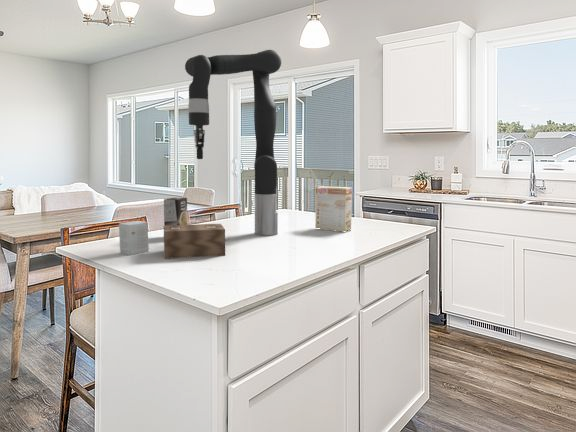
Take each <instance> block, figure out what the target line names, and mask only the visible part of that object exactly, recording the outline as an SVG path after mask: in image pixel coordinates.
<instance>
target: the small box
mask: <svg viewBox="0 0 576 432" xmlns="http://www.w3.org/2000/svg"><path fill="white" fill-rule="evenodd" d="M148 225H149V224H148V222H147V221H143V220H142V221H141V220H134V221H133V220H132V221H126V222H119V223H118V234H119V235H118V236H119V253H120V254H123V255H126V256H134V255H137V254H138V255H139V254H142V253H146V252H149V249H150V247H149V229H148V227H149V226H148ZM133 254H134V255H133Z"/></svg>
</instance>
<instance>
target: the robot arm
mask: <svg viewBox="0 0 576 432" xmlns="http://www.w3.org/2000/svg"><path fill="white" fill-rule="evenodd" d="M281 67H282V57H281V55H280V54H279V53H278V52H277V51H276V50H274V49H265V50H263V51H262V50H261V51H259V52H256V53H250V54H249V53H248V54H219V55H212V56H206V55H204V54H199V55H196V56H192V57H190V58H187V60H186V62H185V64H184V70H185V72H186V73H187V74H188V76H191V77H192V81H191V83H190V84H189V85H188V104H187V105H188V106H187V107H188V108H187V109H188V124H189V125H190V126H194V127H195V129H194V130H193V137H194V143H195V145H194V146H195V149H196V159H197V160H203V158H204V152H203V149H204V147H205V135H206V130H205V129H204V126H209V125H210V104H209V85H210V81H211V80H210V79H211V76H213V75H214V76H215V75H216V76H219V75H223V76H224V75H232V74H233V75H234V74H240V73H244V72H252V79H253V96H254V99H253V101H254V102H253V103H254V105H253V107H254V108H253V109H254V110H253V123H254V135H255V145H256V146H255V157H254V158H255V159H254V164H253V166H254V167H253V168H254V234H255V235H256V236H273V235H278V232H279V230H278V229H279V228H278V223H279V222H278V221H279V220H278V219H279V218H278V217H279V216H278V215H279V214H278V211H277V189H278V187H277V186H278V164H277V161H276V160H275V155H274V154H275V150H274V149H275V148H274V141H275V135H276V129H277V105H276V102H275V100H274V97H273V95H272V93H271V90H270V89H271V88H270V75H272V74H274V73H276V72H277V71H279V69H280V68H281Z"/></svg>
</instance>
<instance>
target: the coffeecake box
mask: <svg viewBox="0 0 576 432" xmlns="http://www.w3.org/2000/svg"><path fill="white" fill-rule="evenodd" d="M352 206H353V187H351V186H349V187H348V186H329V185H328V186H327V185H320V186H316V187H315V228H320V229H327V230H326V231H328V230H336V231H335V232H337V231H347V230H350V229H351V230H352V208H353V207H352ZM315 228H314V229H315ZM347 232H348V231H347Z"/></svg>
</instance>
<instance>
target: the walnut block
mask: <svg viewBox="0 0 576 432" xmlns="http://www.w3.org/2000/svg"><path fill="white" fill-rule="evenodd" d="M208 226H215V228H206V227H208ZM178 227H180V229H171V228H178ZM163 251H164V254H163V255H164V256H163V257H164V259H177V258H179V259H180V258H197V257H198V258H201V257H218V256H226V229H225V227H224V226H223V225H222V223H205V224H204V223H202V224H201V223H200V224H188V225H169V226H164V225H163Z"/></svg>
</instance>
